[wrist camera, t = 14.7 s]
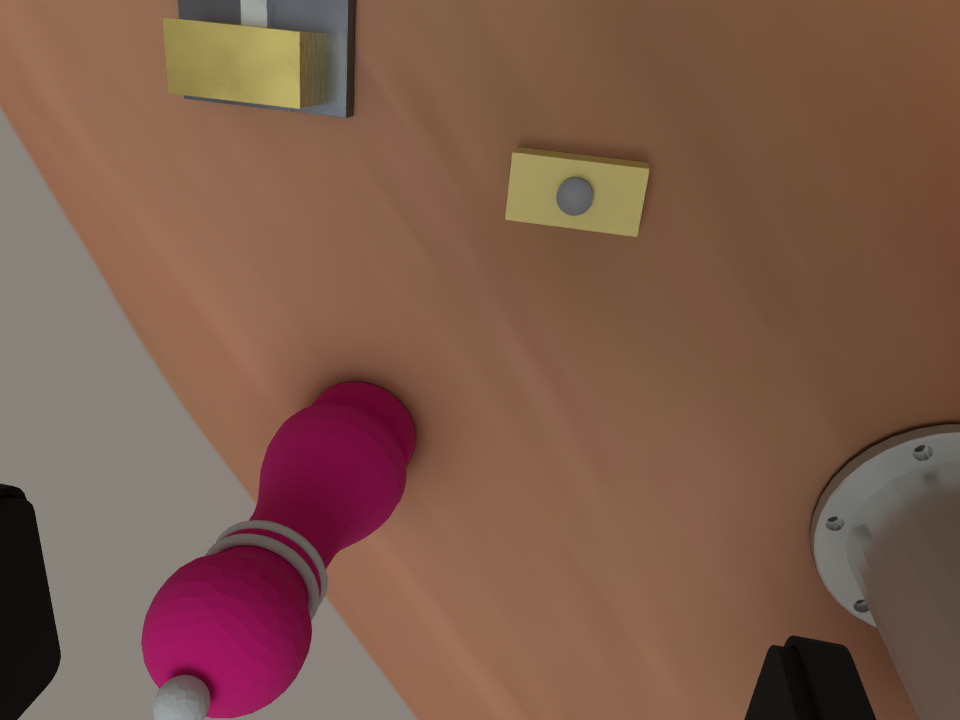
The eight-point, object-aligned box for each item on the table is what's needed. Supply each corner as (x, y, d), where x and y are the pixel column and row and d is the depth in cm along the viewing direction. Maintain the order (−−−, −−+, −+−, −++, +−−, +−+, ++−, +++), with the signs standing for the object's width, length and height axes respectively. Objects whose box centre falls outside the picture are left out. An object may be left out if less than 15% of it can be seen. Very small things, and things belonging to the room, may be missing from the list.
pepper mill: (278, 423, 42) (25, 703, 24) (357, 347, 40) (138, 599, 21) (367, 506, 44) (190, 832, 25) (451, 438, 41) (318, 750, 23)
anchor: (647, 162, 33) (650, 171, 31) (636, 227, 35) (637, 240, 32) (517, 146, 34) (510, 154, 32) (510, 210, 35) (503, 222, 33)
